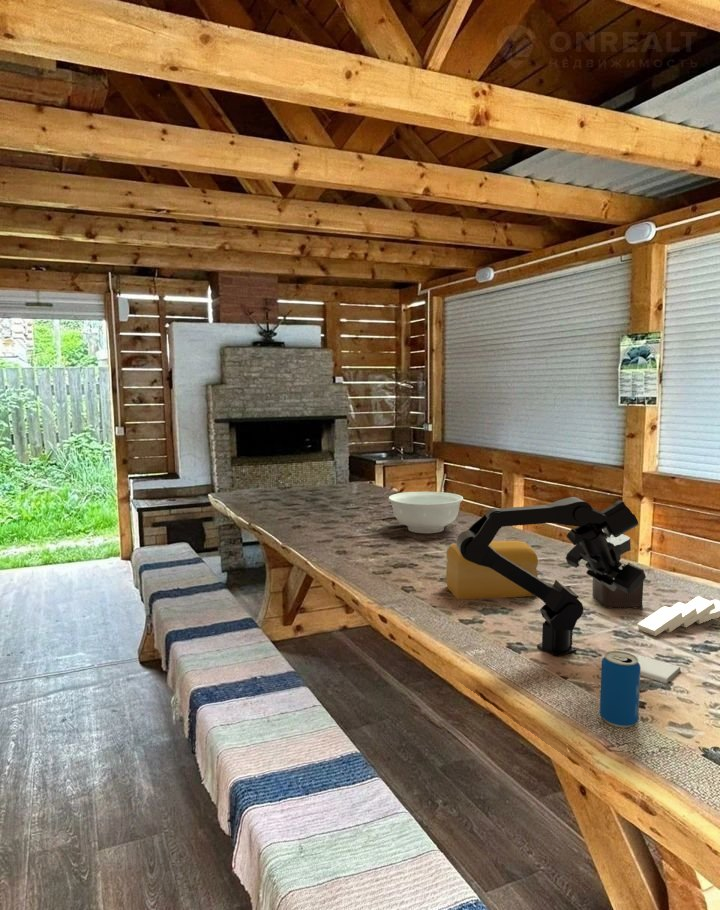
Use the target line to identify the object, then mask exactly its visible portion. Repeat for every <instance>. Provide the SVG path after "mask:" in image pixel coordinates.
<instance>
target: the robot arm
mask: <svg viewBox="0 0 720 910" xmlns="http://www.w3.org/2000/svg"><path fill="white" fill-rule="evenodd" d="M539 524H541V525H542V524H558V525H563V526H568V527H569V526H571V527H576V528H571V529H570V531H569V532H568V533H567V534H566V538H567V539H568V541H570V543H571V544H573V547H572V548H571V549H570V550H569V551H568V553H566V556H565V560H566V562H567V564H568V565H570V566H572V567H574V568H575V569H576V568H579V566H580V564H579V563H580V562H581V561H585V562H586V563H585V564H584V566H585V568H586V569H587V571H586V575H588V576H589V577H591V578H592V579H593V578H594V579H596V580H597V581H599V582H600V583H602V584H603V585H604V586H606V587H607V588H609V589H610V590H612V591H615V590H616V587H617V588H618V589H620V590H622V591H624V592H626V593H632V592H633V591H634V590H635V589H636V588H637V587H638V586H639V585H640V583H641V582H642V581H643V582H644V581H645V579H646V578H647V576H646V573H645V571H644V569H643V568H640V567H638V566H636V565H634V564H632V563H630V564H628V563H627V564H626V566H625V567H624V566H622V563H623V562H621V563H619V562H618V561H619V560H620V561H621V560H622V558H621V556H622V555H623V554H625V553H627V552H630V551H631V548H632V547H631V546H632V545H631V537H630V536H628V535H625V533H627V532H629V531H631V530H632V529H634V528H636V527H638V526H639V521H638V519H637V516H636V515H635V513H633V512H632V511H631V510H630V508H629V507H628V506H627V505H626V504H625V502H624V501H622V500H620V499H619V500H617V501H615V502H614V503H613V504H612V505H610V506H608V507H607V508H605V509H603V510H601V511H600V510H598V509H596V508H593V507H592V506H591V504H589V502H586V501H585V500H583V499H581V498H579V497H577V496H576V497H575V496H571V497H569V496H568V497H566V498H562V499H559V500H555V501H554V502H551V503H547V504H541V505H539V504H538V505H537V504H536V505H528V506H527V505H525V506H512V507H501V508H499V507H498V508H497V507H491V508H488V509H487V510H486V512H485V513H484V514H483V515H482V516H481V517H480V518H479V519H478V520H477V521H475V522H474V523H473V524H472V525H471V526H470V527H469V528H468V529H467V530H464V531H462V532H461V533H460V534H459V535H458V536H457V537H456V544H457V548H458V549H459V551H460V553H461V555H462V556H463V558H465V559H466V560H468V561H470V562H473V563H475V564H478V565H480V566H484V567H488V568H491V569H493V570H494V571H496V572H498V573H499V574H501V575H502V576H504V577H506V578H507V579H509V580H510V581H512V582H514V583H515V584H517V585H519V586H520V587H522V588H523V589H525V590H527V591H528V592H530V593H531V594H533V595H535V596H534V597H537V598H538V599H540V600H541V602H543V603H544V604H543V606H541V607H540V609H539V611H540V614H541V617H542V618H544V620H545V621H544V622H543V623H542V629H541V630H542V637H541V638H542V639H541V643H537V644H536V647H537V648H539V649H541V650H543V651H544V652H547V653H549V654H551V655H554V656H555V657H560V656H561V657H562V656H563V655H567V654H571V653H574V652H576V651H577V648H576V647H574V646H572V645H573V632H574V631H573V630H574V629H575V627H576V624H577V623H578V620H579V619H580V618H581V617H582V616H583V613H584V605H583V603H582V602H581V601H580V600H579V595H577V593H576V592H574V590H572V589H571V588H570V586H565V585H563V584H561V582H559V580H557V579H555V580H554V583H553V584H552V583H548V582H545V581H544V580H543V579H540V578H539V577H538V576H537V577H536V576H535V575H533V574H531V573H530V572H528V571H526V570H525V569H523V568H522V567H520V566H518V565H517V564H515V563H514V562H512V561H510V560H509V559H507V558H506V557H504V556H502V555H501V554H499V553H498V552H496V551H495V550H494V549H493V548H492V547H491V546H490V545H489V544H490V543H491V542H492V541H494V539H495V537H496V535H497V534H498V532H499V530H500V529H502V528H503V527H514V526H515V527H516V526H528V525H529V526H530V525H539Z"/></svg>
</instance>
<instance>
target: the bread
mask: <svg viewBox="0 0 720 910" xmlns="http://www.w3.org/2000/svg"><path fill="white" fill-rule="evenodd" d="M489 545H490V546H491V547H492V548H493V549H494V550H495V551H496V552H498V553H499V554H501V555H502V556H504V557H506V558H507V559H509V560H510V561H512V562H514V563H515V564H517V565H518V566H520V567H522V568H523V569H525V570H526V571H528V572H530V573H531V574H533V575H535V576H536V577H538V570H537V567H538V564H539V560H538V555H537V554H536V551H535V550H534V549H533V548H532V547H531V546H530V545H529V544H528V543H526V542H524V541H521V540H497V541H496V540H492V542H491V543H490V544H489ZM446 560H447V563H446V572H445V574H446V575H445V578H446V579H445V580H446V581H445V582H446V586H447V589H448V590H449V591H450V593H451V594H452V595H453V596H454V597H455V598H456V600H472V599H473V600H475V599H497V598H509V597H510V598H515V597H516V598H517V597H519V598H520V597H533V596H534V597H536V596H535V595H533V594H531V593H530V592H528V591H527V590H525V589H523V588H522V587H520V586H519V585H517V584H515V583H514V582H512V581H510V580H509V579H507V578H506V577H504V576H502V575H501V574H499V573H498V572H496V571H494V570H493V569H491V568H488V567H484V566H480V565H478V564H475V563H473V562H470V561H468V560H466V559H465V558H463V556H462V555H461V553H460V551H459V549H458V548H457V544H456V543H453V544H450V545H449V546H448V547H447V550H446Z"/></svg>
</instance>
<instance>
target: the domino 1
mask: <svg viewBox="0 0 720 910" xmlns="http://www.w3.org/2000/svg"><path fill="white" fill-rule="evenodd" d="M681 618H683V616H682V612H680V611H677V610H674V609H672V608H670V607H668V606H666V605H664V606H662V607H660V608H659V609H658V610H656V611H654V612H653V613H651V614H650V615H649V616H647V617H645V618H644V619H643V620H641V621H638V623H637V628H638V630H639V631H642V632H644V633H646V634H648V635H651V636H654V637H657V636H658V635H659V634H661V633H662V632H664V631H665V629H667V628H668V627H670V626H671V625H673V624H674V623H676V622H677V621H678V620H680V619H681Z"/></svg>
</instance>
